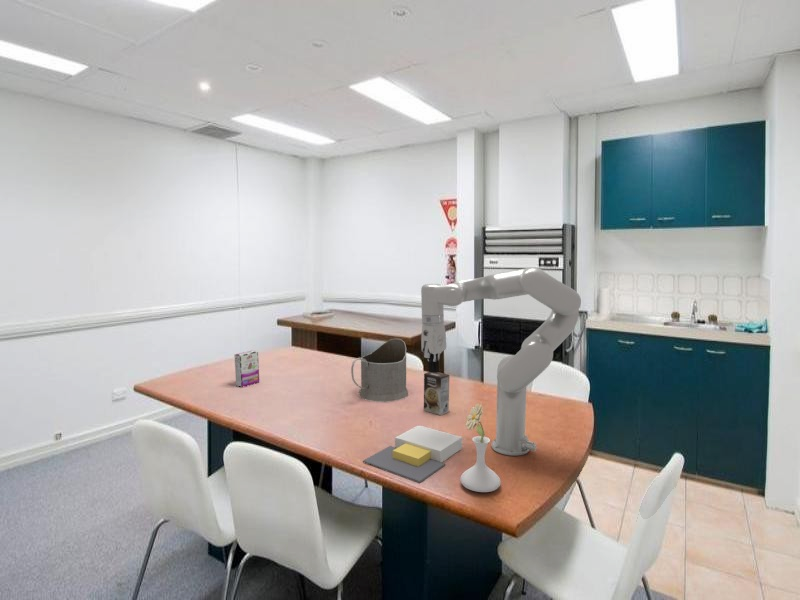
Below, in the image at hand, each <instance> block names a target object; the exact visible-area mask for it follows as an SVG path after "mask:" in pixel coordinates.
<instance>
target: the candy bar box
mask: <svg viewBox="0 0 800 600" xmlns="http://www.w3.org/2000/svg"><path fill="white" fill-rule="evenodd" d="M234 368H235V372H234V374H235V386H236V385H237V386H236V387H238V386H241V387H240V388H244V387H243V386H245V387H248V386H247V385H249V386H251V385H250V384H252V385H255V384H258V383H260V369H259V368H260V366H259V351H258V350H252V349H251V350H249V351H243V352H239V353H236V354H234ZM257 382H258V383H257ZM254 383H255V384H254Z"/></svg>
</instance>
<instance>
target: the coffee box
mask: <svg viewBox="0 0 800 600" xmlns="http://www.w3.org/2000/svg"><path fill="white" fill-rule="evenodd" d="M449 408H450V374H446V373H443V372H437V373H433V372H429V371H428V372H424V373H423V411H425V412H428V413H431V414H434V415H438V416H442V415H445V414H447V413H449V412H450V409H449Z"/></svg>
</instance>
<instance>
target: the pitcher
mask: <svg viewBox="0 0 800 600" xmlns="http://www.w3.org/2000/svg"><path fill="white" fill-rule="evenodd" d="M358 360H360V378H361V379H360V383H361V384H360V385H359V384H358V383H357V382H356V380H355V378H354V377H355V376H354V375H355V374H354V366H355V363H356V362H357V361H358ZM350 372H351V378H352V382H353V383H354V385H355V386H357V387H358V388H360V391H359V393H358V395H359V398H361V399H363V400H365V399H366V401H369V402H376V403H377V402H379V403H389V402H397V401H400V400H403V399H406V398H408V396H409V394H408V393H409V391H408V389H407V346H406V343H405V341H403V340H402V339H401V338H391V339H389V340H387V341H385V342H384V343H383V344H381V345H380V346H379V347H378V348H376V349H375V350H374V351H372V352H371V353H368V354H365V355H363V356H362V357H357V358H355V359H354V360H353V362H352V364H351V369H350ZM405 397H406V398H405Z"/></svg>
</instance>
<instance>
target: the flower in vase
mask: <svg viewBox="0 0 800 600" xmlns="http://www.w3.org/2000/svg"><path fill="white" fill-rule="evenodd" d="M470 409H471V410H470V412H469V414H467V416H466V419H467V420H466V423H465V427H466V430H467V431H472V430H474V429H475V428H476V429H475V430H476V433H477V434H478V435H477V436H474V437H472V440H471V441H472V442H473V443H474V445H475V449H476V450H475V451H476V462H475V464H474V465H473V466H470V467H469V468H468V469H466V470H465V471H464V472H463V473H462V474H461V475H460V478H459V479H460V480H459V481H460V483H461V485H462V486H464V488H466V489H467V490H470V491H473V492H477V493H489V492H493V491H496V490H498V489H499V488H500V486H501V483H502V482H501V478H500V477H499V475H498V474H497V473H496V472H495V471H494V470H492V469H491V468H490V467H488V466H487V464H486V460H485V458H486V456H485V455H486V450H487V446H488V444H489V443H490V441H491V439H490V438H489V437H487V436H485V434H486V431H485V430H484V427H483V424H482V422H481V419H482V417H483V414H484V412H483V410H484V408H483V405H482V404H479V403H476V404H475V405H474V406H472V407H471V408H470Z"/></svg>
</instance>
